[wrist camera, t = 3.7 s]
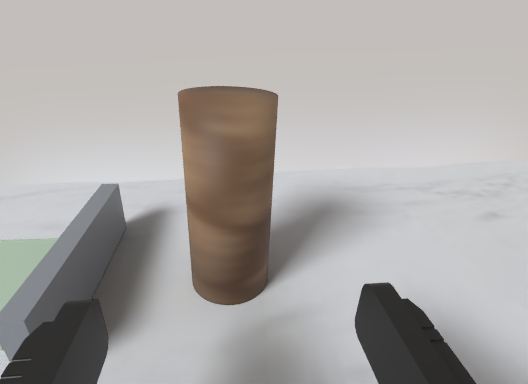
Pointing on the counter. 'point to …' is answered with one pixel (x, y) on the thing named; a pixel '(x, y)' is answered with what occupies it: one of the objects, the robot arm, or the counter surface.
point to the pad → (19, 264)
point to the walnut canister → (228, 188)
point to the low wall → (66, 268)
